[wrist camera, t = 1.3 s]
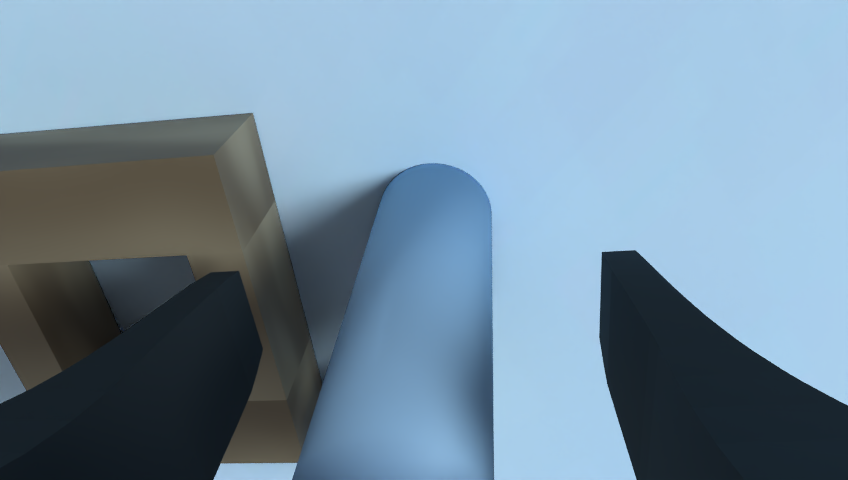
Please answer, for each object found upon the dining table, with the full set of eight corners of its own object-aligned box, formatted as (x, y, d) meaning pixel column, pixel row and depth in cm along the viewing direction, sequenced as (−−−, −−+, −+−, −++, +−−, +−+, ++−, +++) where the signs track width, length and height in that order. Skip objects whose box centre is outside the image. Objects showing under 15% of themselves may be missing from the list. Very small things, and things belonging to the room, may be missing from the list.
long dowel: (494, 259, 17) (500, 574, 9) (387, 264, 17) (311, 571, 10) (487, 159, 15) (486, 436, 8) (371, 167, 15) (267, 438, 8)
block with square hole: (325, 396, 19) (305, 462, 17) (112, 401, 20) (68, 464, 18) (252, 113, 15) (213, 154, 13) (-16, 135, 16) (-94, 178, 14)
